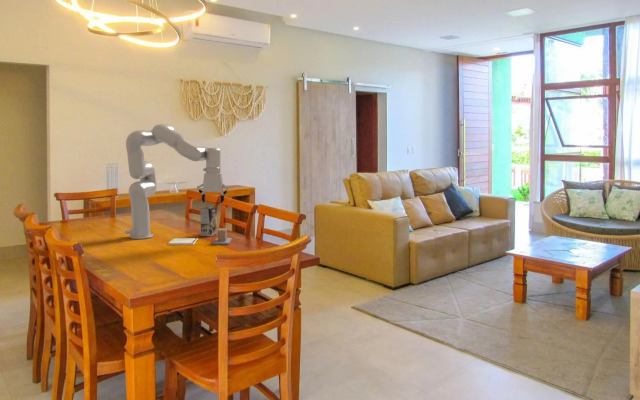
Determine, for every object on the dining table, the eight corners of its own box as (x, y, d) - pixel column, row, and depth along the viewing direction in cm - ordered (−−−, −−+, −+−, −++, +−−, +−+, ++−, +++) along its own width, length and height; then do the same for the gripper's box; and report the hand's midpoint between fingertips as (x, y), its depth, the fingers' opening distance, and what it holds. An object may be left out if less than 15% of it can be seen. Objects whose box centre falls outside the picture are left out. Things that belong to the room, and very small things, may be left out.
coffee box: (211, 236, 281) (210, 208, 279) (200, 236, 282) (199, 208, 280) (217, 233, 290) (216, 206, 288) (207, 233, 291) (206, 206, 289)
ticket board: (168, 244, 260) (168, 242, 259) (174, 239, 271) (174, 237, 271) (193, 244, 260) (193, 242, 260) (198, 239, 272) (198, 237, 272)
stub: (213, 244, 260) (212, 231, 259) (217, 239, 272) (216, 227, 271) (228, 244, 261) (228, 231, 260) (231, 239, 273) (231, 227, 272)
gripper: (195, 170, 260) (195, 202, 263) (228, 172, 261) (227, 203, 263) (198, 169, 268) (198, 200, 270) (230, 170, 268) (230, 201, 271)
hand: (212, 202), depth 267 cm, fingers open, 9 cm apart
